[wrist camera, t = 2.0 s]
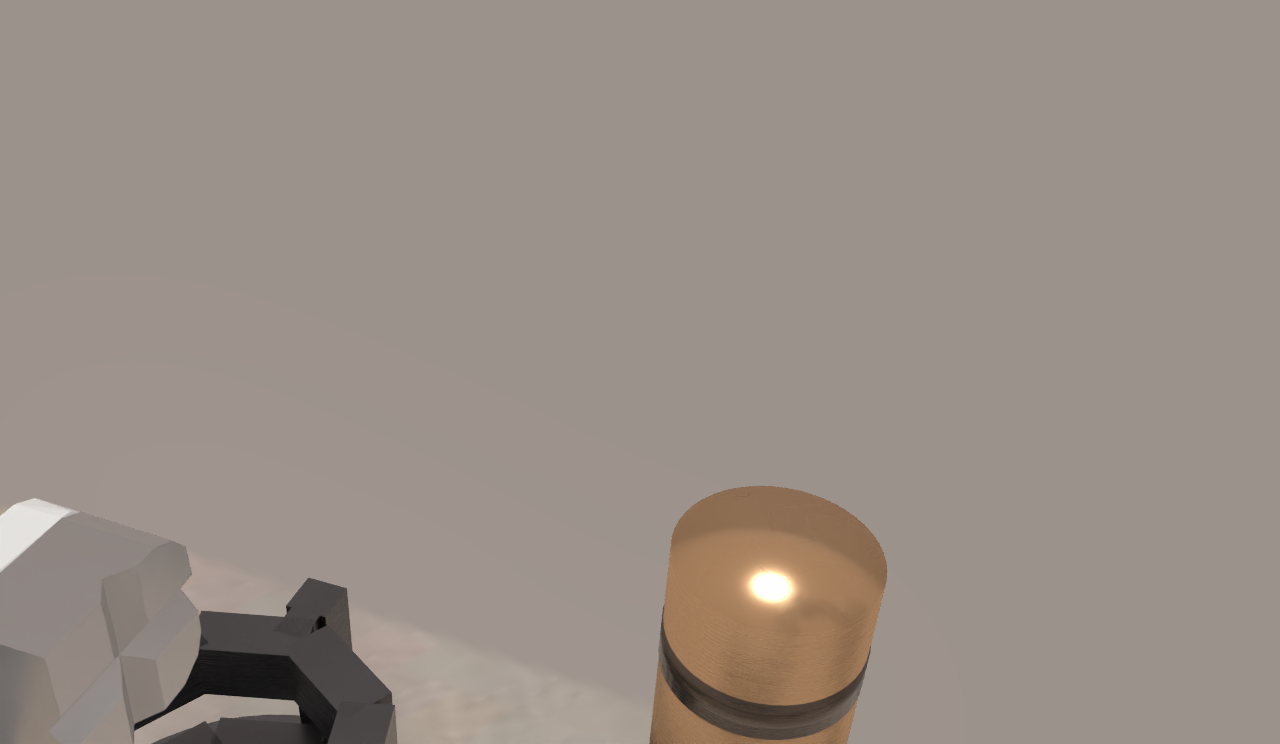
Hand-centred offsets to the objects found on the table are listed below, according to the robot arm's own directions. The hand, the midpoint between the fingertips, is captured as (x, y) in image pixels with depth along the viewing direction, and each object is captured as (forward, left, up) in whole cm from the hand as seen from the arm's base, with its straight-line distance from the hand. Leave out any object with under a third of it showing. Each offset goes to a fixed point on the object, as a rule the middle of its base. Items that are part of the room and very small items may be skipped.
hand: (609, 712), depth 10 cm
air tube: (+6, -11, -28) cm, 31 cm away
